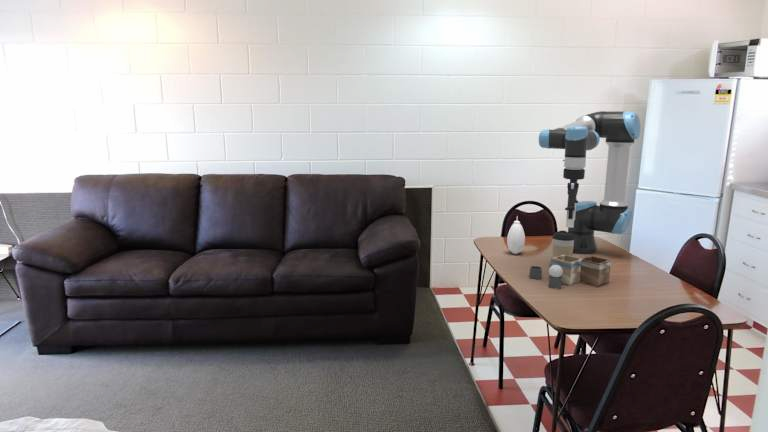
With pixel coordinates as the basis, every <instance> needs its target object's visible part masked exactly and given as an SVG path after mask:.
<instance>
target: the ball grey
mask: <svg viewBox="0 0 768 432" xmlns="http://www.w3.org/2000/svg"><path fill="white" fill-rule="evenodd" d="M548 274H549V276H550V275H551V276H552V277H556V278H559V277H561V276H562V274H563V270H562V268H561V267H560V266H559V265H553V266H552V265H551V266H550V267H549V268H548Z"/></svg>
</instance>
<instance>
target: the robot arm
mask: <svg viewBox="0 0 768 432" xmlns="http://www.w3.org/2000/svg"><path fill="white" fill-rule="evenodd" d="M640 133H641V121H640V117H639V115H638V113H637V112H635V111H626V110H625V111H621V110H620V111H611V110H610V111H609V110H608V111H606V110H605V111H601V110H600V111H594V112H591V113H588V114H585V115H583V116H580V117H578V118H577V119H576V120H575V121H573V122H570V123H568V124H565V125H562V126H560V127H557V128H554V129H550V128H548V129H542V130H541V131H540V132H539V135H538V144H539V146H540V148H542V149H547V150H549V149H553V150H554V149H555V150H564V158H562V162H564V163H563V167H564V169H563V175H562V178H563V179H566V180H569V182H567V187H566V188H567V195H568V196H567V205H566V206H567V207H564V210H565V211H566V217H565V218H566V219H565V228H567V232H570V233H572V235H573V236H575V240H574V247H573V253H572V254H581V255H588V254H589V255H592V254H595V253H597V249H598V246H597V241H596V239H595V232H602V233H607V234H608V233H609V234H613V235H614V234H616V235H623V234H625V233H626V232H627V230H628V228H629V227H630V225H631V221H632V218H633V217H632V216H633V214H632V213H633V212H632V210H631V209H630V208H628V207H629V203H627V201H626V191H627V190H626V189H627V180H628V171H629V161H630V150H631V147H632V145H634V144H635V140H637V139H639V138H640V135H641V134H640ZM601 138H602V139H605V144H606V145H607V146H608V151H607V161H606V162H607V163H606V174H605V184H604V197H603V200H601V201H600V202H599V205H598V204H597V202H596V201H592V200H590V201H588V200H587V201H586V200H585V201H583V200H582V201H579V200H578V198H577V196H578V191H579V186H580V184H579V183H578V180H579V181H580V180H584V179H585V173H586V169H585V168H586V159H587V151H592V150H594V149H596V148H597V147H598V145H599V144H600V139H601Z"/></svg>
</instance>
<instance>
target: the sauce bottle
mask: <svg viewBox="0 0 768 432" xmlns="http://www.w3.org/2000/svg"><path fill="white" fill-rule="evenodd" d="M518 219H519V218H518V215H517V216H516V220H514V221H513V223H512V224H511V226H510V228H509V231H508V233H507V237H506V245H507V248H508V250H509V251H510V252H511V253H512V254H514V255H518V254H519V253H521V252H522V251H523V249H524V247H525V244H526V235H525V231H524V228H523V225H522V224H521V221H519V220H518Z"/></svg>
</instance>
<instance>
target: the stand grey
mask: <svg viewBox="0 0 768 432" xmlns="http://www.w3.org/2000/svg"><path fill="white" fill-rule="evenodd" d="M561 278H562V276H561V277H559V278H556V277H552V276H551V275H550V274H549V277H548V288H553V289H561V287H562V283H561Z"/></svg>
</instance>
